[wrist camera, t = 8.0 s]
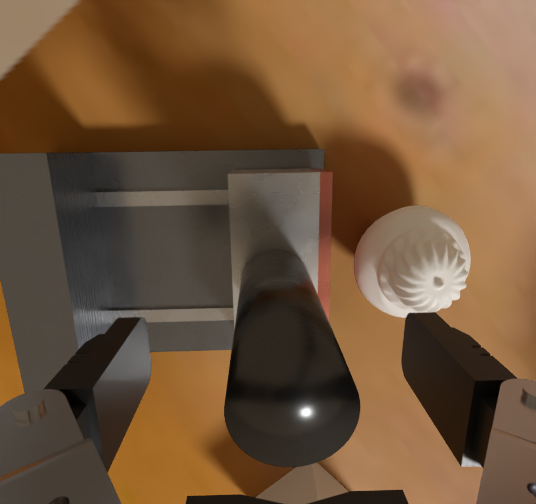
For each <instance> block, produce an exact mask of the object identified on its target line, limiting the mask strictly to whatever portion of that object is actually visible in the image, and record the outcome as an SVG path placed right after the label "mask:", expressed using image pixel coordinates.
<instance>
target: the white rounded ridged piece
mask: <svg viewBox="0 0 536 504" xmlns="http://www.w3.org/2000/svg"><path fill="white" fill-rule="evenodd" d="M470 261H471V257H470V249H469V245H468V241H467V239H466V237H465V234H464V233H463V231H462V229H461V228H460V227H459V225H458V224H457V223H456V222H455V221H454V220H453V219H451V218H450V217H449V216H447V215H445V214H444V213H442V212H440V211H438V210H436V209H433V208H430V207H426V206H407V207H403V208H400V209H397V210H394V211H392V212H390V213H388V214H386V215H383V216H382V217H381V218H379V219H378V220H377V221H374V223H373V224H372V225H371V226H370V227H368V228H367V230H366V232H365V233H364V234H363V235H362V237H361V239H360V241H359V243H358V246H357V248H356V252H355V257H354V274H355V279H356V282H357V285H358V287H359V289H360V291H361V292H362V294H363V295H364V296H365V298H366V299H367V300H368V301H369V302H370V303H371V304H373V305H374V306H375V307H377V308H378V309H380V310H381V311H383V312H385V313H387V314H390V315H393V316H396V317H403V318H406V317H407V314H408V313H418V312H436V311H438V310H439V309H441V308H448V307H449V306H450V305H451V303H452V300H457V299H459V298H460V290H462V289H464V288H466V284H465V280H466V278H467V276H468V275H469V269H470Z"/></svg>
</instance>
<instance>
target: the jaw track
mask: <svg viewBox="0 0 536 504" xmlns="http://www.w3.org/2000/svg"><path fill="white" fill-rule="evenodd" d="M298 168H321V169H324V149H281V150H220V151H159V152H98V153H10V154H0V280H1V284H2V289H3V294H4V298H5V303H6V308H7V312H8V317H9V322H10V326H11V331H12V336H13V340H14V345H15V350H16V354H17V359H18V364H19V369H20V373H21V378H22V383H23V387H24V392H25V393H28V392H32V391H36V390H42V389H44V388H45V387H46V385H47V384H48V383H49V382H50V381H51V380H52V379H53V378H54V376H55V375H56V374H57V373H58V372H59V371H60V370H61V369H62V367H63V366H64V365H65V364H67V362H68V361H69V360H70V358H71V357H72V356H73V355H75V353H76V352H77V351H78V349H79V348H80V347H81V346H82V345H83V344H84V343H85V342H87V341H88V340H90V339H92V338H93V337H95V336H97V335H98V334H105V333H106V331H107V330H108V329H109V328H110V327H111V325H112V324H113V323H114V322H115V321H116V319H117V318H123V317H144V318H145V319H146V322H147V329H148V339H149V348H150V352H167V351H203V350H232V345H233V337H234V309H233V286H232V263H231V239H230V216H229V193H228V173H230V172H231V171H232V170H240V169H298Z"/></svg>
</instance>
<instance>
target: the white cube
mask: <svg viewBox="0 0 536 504" xmlns="http://www.w3.org/2000/svg"><path fill="white" fill-rule="evenodd" d="M346 492H349V491H347V490H346V489H345V488H344V487H343V486H342V485H341V484H340V483H339V482H338V481H337V480H336V479H335V478H333V477H332V476H331V475H330V474H329V473H328V472H327V471H326V470H325V469H324V468H323V467H322V466H321V465H320V464H318V463H314V464H310V465H306V466H301V467H296V468H294V469H293V470H291V471H290V472H289V473H287V474H286V475H285V476H283V477H282V478H281V479H279V480H278V481H277V482H275V483H274V484H273V485H271V486H270V487H269V488H267V489H266V490H265V491H263V492H262V493H261V494H259V495H258V496H256V497H255V498H259V499H264V500H269V501H273V502H278V503H283V504H308V503H311V502H315V501H318V500H322V499H325V498H329V497H332V496H336V495H339V494H343V493H346Z"/></svg>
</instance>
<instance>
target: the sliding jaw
mask: <svg viewBox="0 0 536 504" xmlns="http://www.w3.org/2000/svg"><path fill="white" fill-rule="evenodd" d="M332 187H333V172H332V171H328V170H324V169H321V168H298V169H240V170H232V171H231V172H230V173H228V193H229V216H230V239H231V263H232V286H233V309H234V337H233V345H232V352H231V360H230V367H229V375H228V383H227V390H226V398H225V406H224V416H225V422H226V426H227V429H228V431H229V433H230V435H231V437H232V439H233V440H234V442H235V443H236V444H237V445H238V446H239V447H240V448H241V449H242V450H243V451H244V452H245V453H246V454H248V455H249V456H251V457H252V458H254V459H256V460H258V461H260V462H263V463H266V464H269V465H273V466H279V467H301V466H306V465H310V464H314V463H317V462H319V461H322V460H324V459H326V458H328V457H329V456H331V455H333V454H334V453H335V452H337V451H338V450H339V449H340V448H341V447H342V446H344V445H345V443H346V442H347V441H348V440H349V439H350V437H351V435H352V434H353V432H354V430H355V428H356V426H357V423H358V419H359V415H360V399H359V394H358V391H357V388H356V385H355V383H354V381H353V378H352V376H351V373H350V371H349V369H348V366H347V364H346V361H345V359H344V357H343V354H342V352H341V350H340V347H339V345H338V342H337V340H336V338H335V335H334V333H333V330H332V328H331V326H330V323H329V292H330V257H331V222H332Z"/></svg>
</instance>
